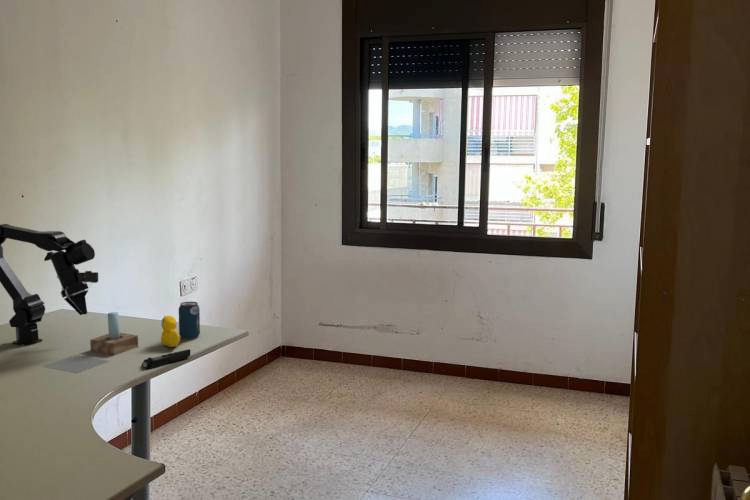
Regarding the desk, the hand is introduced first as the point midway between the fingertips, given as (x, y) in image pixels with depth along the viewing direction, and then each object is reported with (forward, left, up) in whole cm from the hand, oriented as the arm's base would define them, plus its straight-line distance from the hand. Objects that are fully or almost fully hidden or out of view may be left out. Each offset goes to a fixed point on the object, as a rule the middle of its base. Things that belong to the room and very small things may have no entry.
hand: (83, 314), depth 204 cm
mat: (+12, -14, -11) cm, 21 cm away
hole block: (+11, +2, -11) cm, 15 cm away
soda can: (+23, +24, -11) cm, 35 cm away
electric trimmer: (+34, -1, -11) cm, 36 cm away
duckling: (+24, +13, -11) cm, 29 cm away
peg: (+11, +2, -11) cm, 15 cm away
